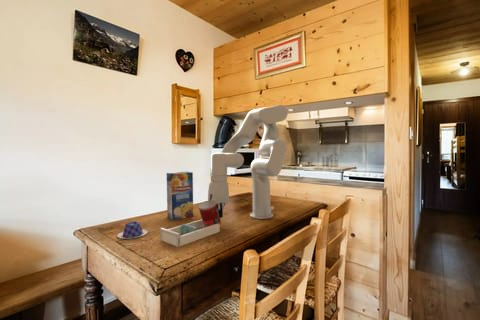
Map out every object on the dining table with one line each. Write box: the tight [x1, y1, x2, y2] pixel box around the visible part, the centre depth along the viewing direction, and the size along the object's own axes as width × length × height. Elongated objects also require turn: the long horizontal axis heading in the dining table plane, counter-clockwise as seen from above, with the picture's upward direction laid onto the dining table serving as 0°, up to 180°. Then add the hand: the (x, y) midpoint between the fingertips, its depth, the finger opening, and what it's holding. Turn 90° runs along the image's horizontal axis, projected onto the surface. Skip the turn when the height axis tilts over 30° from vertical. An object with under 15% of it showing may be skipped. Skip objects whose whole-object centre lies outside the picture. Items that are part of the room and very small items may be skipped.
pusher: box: [181, 223, 197, 235], centre depth 100 cm, size 2×9×4 cm, turn 50°
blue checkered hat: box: [116, 221, 149, 240], centre depth 104 cm, size 12×12×5 cm
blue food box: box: [166, 171, 194, 221], centre depth 131 cm, size 12×8×24 cm, turn 126°
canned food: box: [198, 200, 222, 228], centre depth 110 cm, size 8×8×11 cm
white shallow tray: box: [160, 218, 221, 248], centre depth 102 cm, size 22×12×5 cm, turn 140°
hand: (219, 217), depth 115 cm, fingers closed
